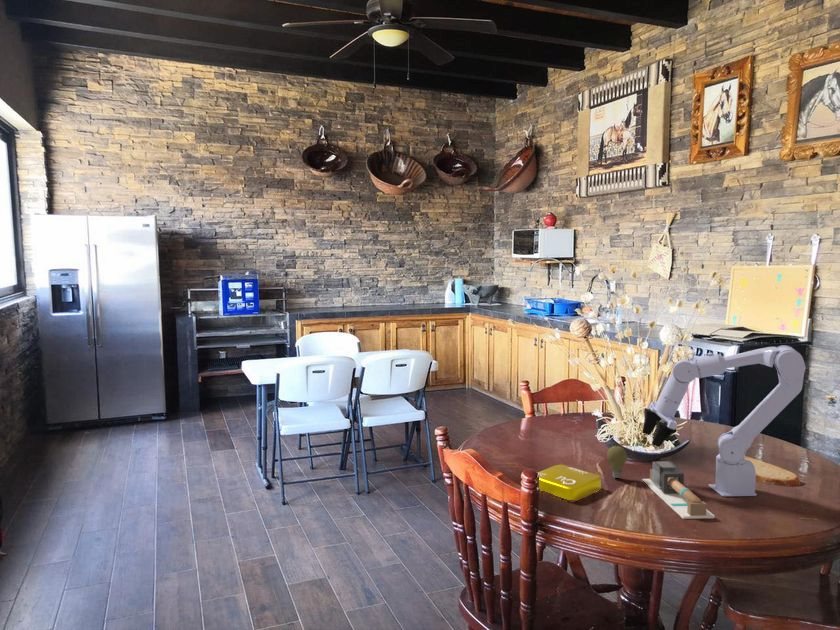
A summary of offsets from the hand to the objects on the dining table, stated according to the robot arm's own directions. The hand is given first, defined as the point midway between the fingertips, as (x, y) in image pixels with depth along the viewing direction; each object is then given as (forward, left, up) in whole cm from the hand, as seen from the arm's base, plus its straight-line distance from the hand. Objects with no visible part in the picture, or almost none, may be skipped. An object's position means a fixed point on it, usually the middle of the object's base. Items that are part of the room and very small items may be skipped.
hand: (650, 439), depth 172 cm
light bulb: (+9, -2, -13) cm, 16 cm away
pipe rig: (-2, +13, -13) cm, 18 cm away
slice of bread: (-35, -4, -13) cm, 38 cm away
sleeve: (-2, +6, -12) cm, 13 cm away
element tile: (+26, +5, -13) cm, 30 cm away
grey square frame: (-2, +11, -12) cm, 16 cm away
